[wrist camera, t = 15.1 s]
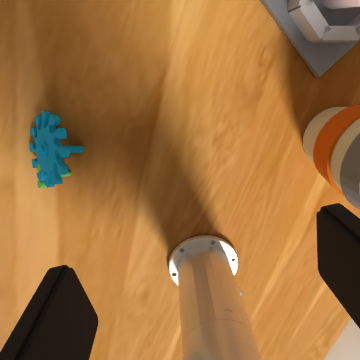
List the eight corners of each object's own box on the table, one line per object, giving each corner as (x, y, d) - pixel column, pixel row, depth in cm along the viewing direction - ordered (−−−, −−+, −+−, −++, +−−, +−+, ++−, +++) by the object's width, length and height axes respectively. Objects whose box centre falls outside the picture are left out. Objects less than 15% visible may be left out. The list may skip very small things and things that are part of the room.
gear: (31, 95, 34) (65, 137, 29) (75, 101, 38) (109, 139, 34) (19, 164, 39) (46, 209, 34) (59, 162, 44) (87, 202, 39)
